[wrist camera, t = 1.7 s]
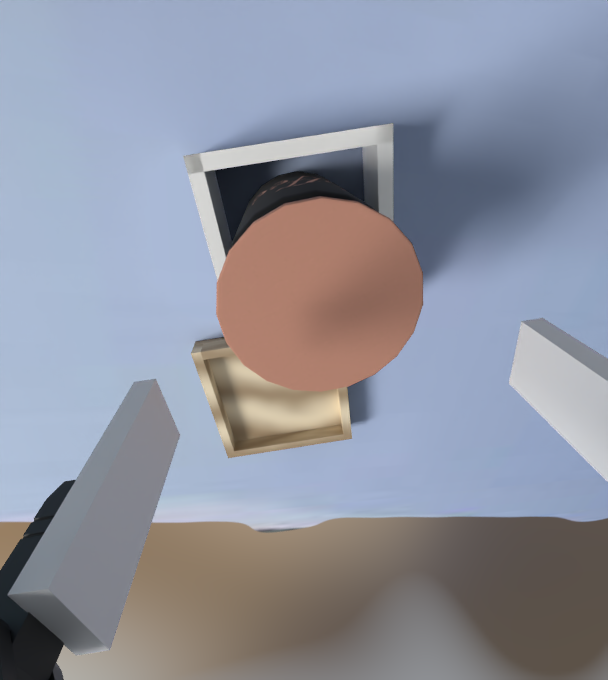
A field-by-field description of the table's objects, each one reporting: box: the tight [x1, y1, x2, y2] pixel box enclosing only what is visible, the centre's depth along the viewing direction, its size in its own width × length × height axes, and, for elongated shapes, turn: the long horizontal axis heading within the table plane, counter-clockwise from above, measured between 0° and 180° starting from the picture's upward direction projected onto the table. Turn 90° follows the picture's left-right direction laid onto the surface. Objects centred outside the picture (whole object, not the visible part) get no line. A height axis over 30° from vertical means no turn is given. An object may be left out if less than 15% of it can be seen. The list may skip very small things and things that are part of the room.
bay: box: [183, 123, 393, 280], centre depth 31 cm, size 15×15×5 cm
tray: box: [191, 337, 352, 458], centre depth 41 cm, size 16×16×2 cm
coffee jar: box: [216, 171, 423, 392], centre depth 25 cm, size 11×11×18 cm
